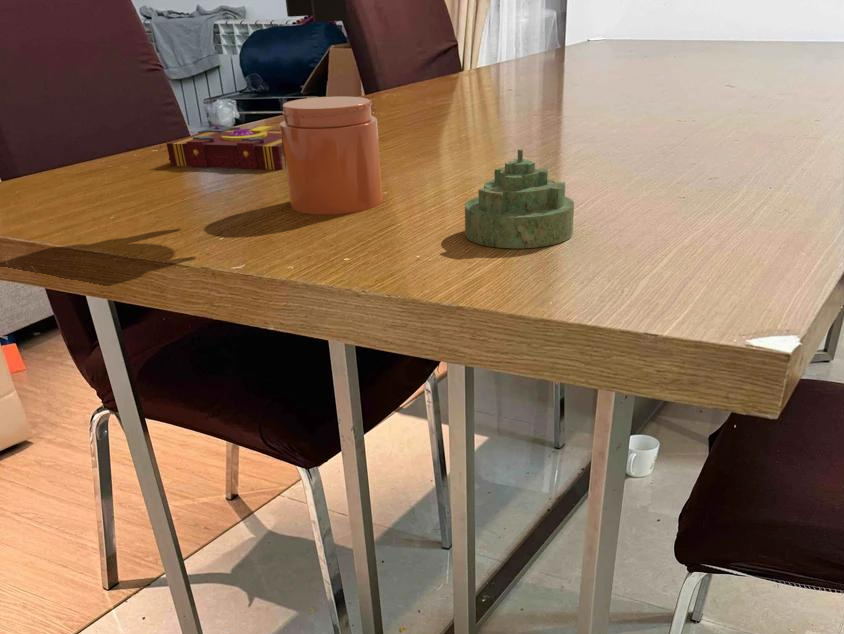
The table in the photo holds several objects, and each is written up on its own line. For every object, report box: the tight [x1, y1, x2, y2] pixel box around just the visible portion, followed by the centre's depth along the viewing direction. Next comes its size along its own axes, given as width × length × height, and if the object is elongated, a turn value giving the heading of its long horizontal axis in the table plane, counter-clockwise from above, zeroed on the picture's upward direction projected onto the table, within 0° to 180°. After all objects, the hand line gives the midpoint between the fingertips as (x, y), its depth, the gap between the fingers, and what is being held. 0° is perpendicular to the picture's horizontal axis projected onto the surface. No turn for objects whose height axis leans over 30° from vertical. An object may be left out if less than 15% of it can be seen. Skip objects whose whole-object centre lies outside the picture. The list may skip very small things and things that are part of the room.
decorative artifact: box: [464, 148, 575, 250], centre depth 76 cm, size 10×7×10 cm
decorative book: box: [166, 125, 286, 171], centre depth 102 cm, size 11×16×5 cm
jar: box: [279, 95, 384, 215], centre depth 80 cm, size 9×9×10 cm
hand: (316, 18), depth 73 cm, fingers closed on lid, 9 cm apart
